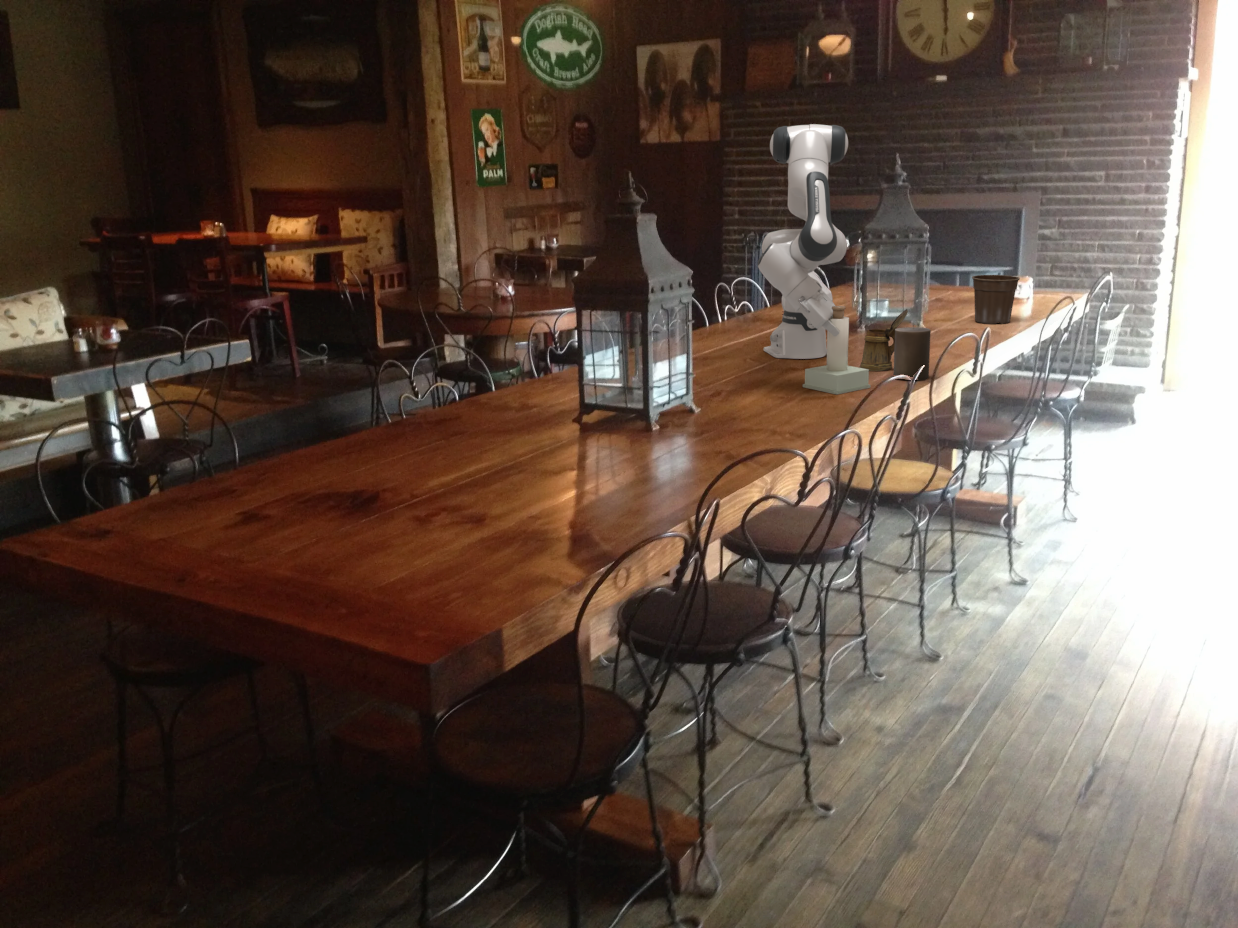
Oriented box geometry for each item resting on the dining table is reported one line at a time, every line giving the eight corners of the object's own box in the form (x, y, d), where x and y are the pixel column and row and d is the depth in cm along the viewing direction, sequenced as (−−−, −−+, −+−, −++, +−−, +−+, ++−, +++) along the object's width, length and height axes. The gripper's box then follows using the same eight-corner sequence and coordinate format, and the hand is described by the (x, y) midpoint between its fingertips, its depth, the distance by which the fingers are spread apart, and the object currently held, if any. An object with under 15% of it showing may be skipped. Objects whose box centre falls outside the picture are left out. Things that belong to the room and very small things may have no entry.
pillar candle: (929, 381, 310) (932, 327, 306) (893, 380, 312) (895, 327, 308) (927, 375, 319) (930, 322, 315) (892, 374, 321) (894, 322, 317)
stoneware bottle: (822, 368, 306) (824, 306, 301) (840, 366, 308) (842, 304, 303) (833, 372, 301) (834, 308, 296) (851, 370, 303) (853, 307, 298)
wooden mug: (899, 373, 321) (901, 311, 316) (855, 369, 329) (856, 308, 324) (911, 368, 328) (913, 307, 323) (867, 364, 336) (869, 304, 331)
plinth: (802, 387, 307) (803, 369, 306) (836, 380, 314) (836, 363, 313) (836, 394, 297) (837, 376, 296) (870, 387, 304) (871, 369, 303)
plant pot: (1021, 320, 408) (1024, 275, 403) (1010, 326, 395) (1013, 280, 390) (976, 317, 416) (978, 273, 412) (964, 324, 403) (966, 278, 399)
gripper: (805, 291, 291) (842, 330, 291) (819, 282, 310) (854, 318, 309) (788, 308, 294) (824, 346, 293) (803, 298, 312) (837, 334, 312)
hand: (840, 332), depth 301 cm, fingers open, 6 cm apart
